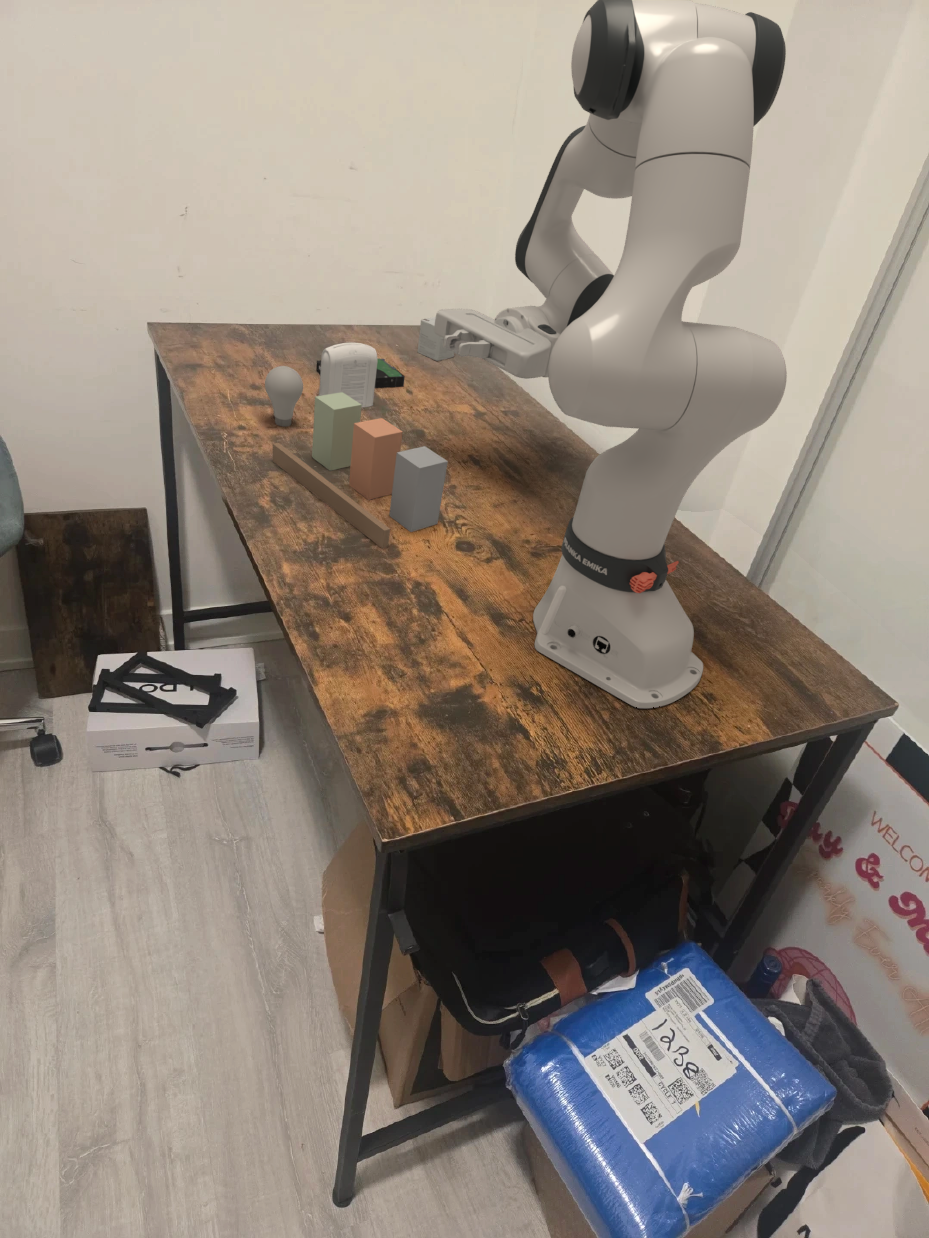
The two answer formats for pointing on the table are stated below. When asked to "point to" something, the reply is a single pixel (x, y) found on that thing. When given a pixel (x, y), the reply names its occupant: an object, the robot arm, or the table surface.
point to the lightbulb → (283, 392)
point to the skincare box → (432, 342)
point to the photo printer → (349, 371)
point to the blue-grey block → (417, 488)
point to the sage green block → (334, 429)
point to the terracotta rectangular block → (374, 457)
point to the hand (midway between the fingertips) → (451, 346)
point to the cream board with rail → (332, 496)
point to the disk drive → (382, 375)
